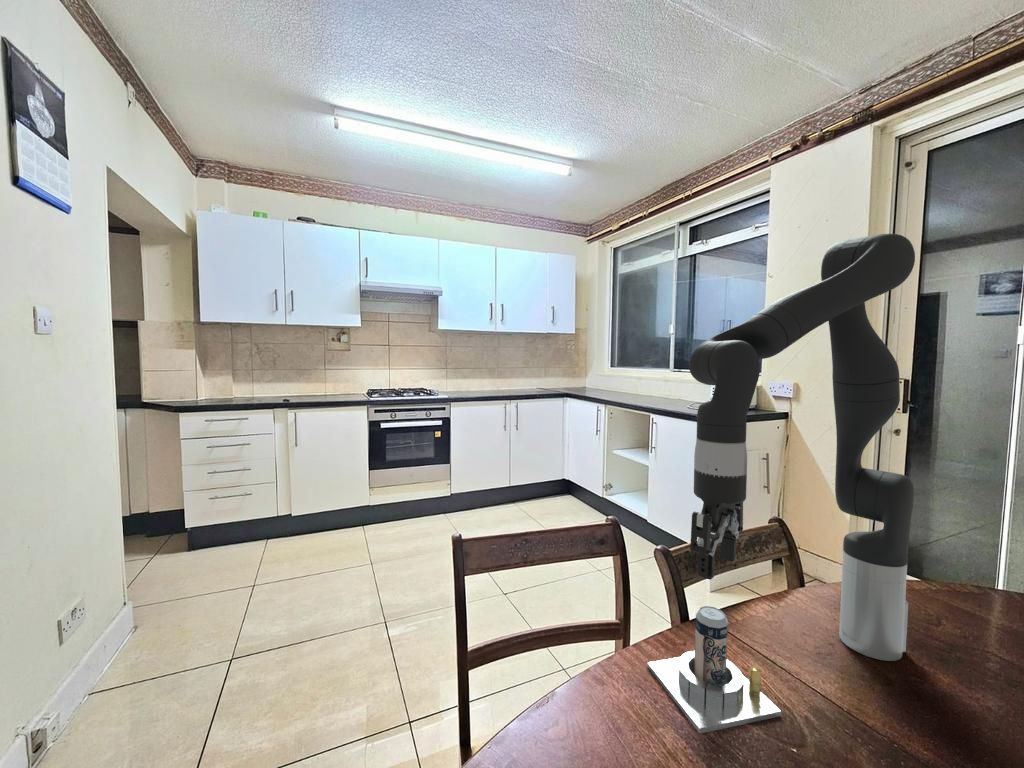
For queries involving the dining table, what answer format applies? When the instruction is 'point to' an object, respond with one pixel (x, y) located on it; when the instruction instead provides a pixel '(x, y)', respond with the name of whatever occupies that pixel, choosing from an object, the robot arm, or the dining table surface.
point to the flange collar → (714, 694)
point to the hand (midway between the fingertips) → (717, 568)
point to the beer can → (711, 645)
